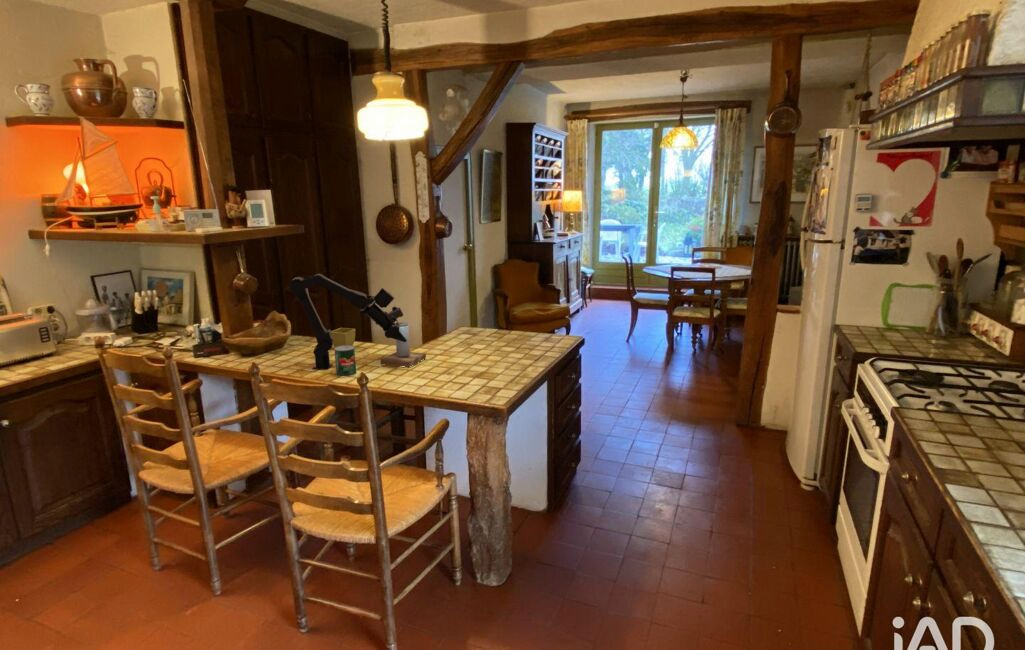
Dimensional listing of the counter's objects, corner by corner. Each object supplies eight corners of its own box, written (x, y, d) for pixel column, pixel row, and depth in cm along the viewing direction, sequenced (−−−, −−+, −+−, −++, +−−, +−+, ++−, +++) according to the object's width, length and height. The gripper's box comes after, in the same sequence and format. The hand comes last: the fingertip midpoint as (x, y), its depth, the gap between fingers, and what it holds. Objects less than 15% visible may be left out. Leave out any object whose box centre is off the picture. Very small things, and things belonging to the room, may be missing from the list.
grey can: (404, 357, 243) (402, 325, 240) (393, 355, 245) (392, 324, 242) (412, 354, 248) (411, 323, 245) (402, 352, 250) (400, 321, 247)
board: (409, 368, 238) (409, 362, 238) (380, 364, 243) (380, 358, 243) (426, 359, 251) (425, 353, 251) (398, 356, 256) (398, 350, 256)
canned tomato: (346, 378, 226) (344, 351, 224) (331, 375, 230) (329, 348, 227) (360, 372, 233) (358, 346, 230) (346, 369, 236) (344, 344, 234)
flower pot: (346, 351, 264) (345, 333, 262) (330, 350, 266) (328, 331, 264) (357, 347, 272) (356, 328, 270) (341, 345, 275) (340, 327, 273)
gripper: (391, 306, 232) (420, 331, 237) (390, 298, 249) (417, 321, 254) (372, 325, 232) (401, 350, 237) (373, 316, 249) (400, 339, 254)
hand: (405, 339), depth 245 cm, fingers closed on grey can, 5 cm apart
